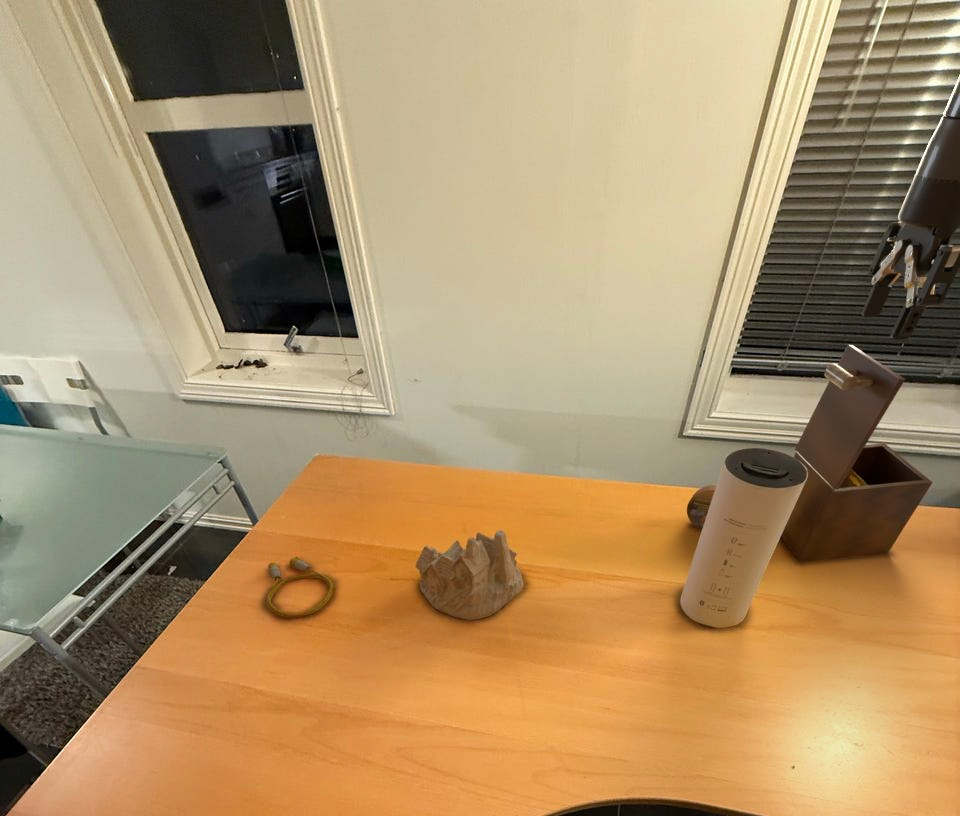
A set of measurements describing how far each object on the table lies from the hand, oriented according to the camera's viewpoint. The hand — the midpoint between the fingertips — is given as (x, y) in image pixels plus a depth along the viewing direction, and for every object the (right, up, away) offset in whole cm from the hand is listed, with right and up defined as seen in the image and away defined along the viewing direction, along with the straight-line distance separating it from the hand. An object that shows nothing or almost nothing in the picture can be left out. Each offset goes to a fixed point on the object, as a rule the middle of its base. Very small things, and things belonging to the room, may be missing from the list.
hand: (883, 327), depth 74 cm
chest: (+9, -24, +27) cm, 37 cm away
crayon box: (+11, -23, +26) cm, 36 cm away
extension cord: (-87, -34, +24) cm, 97 cm away
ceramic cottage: (-56, -33, +23) cm, 69 cm away
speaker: (-16, -37, +16) cm, 44 cm away
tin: (-8, -22, +30) cm, 38 cm away
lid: (+1, -9, +10) cm, 13 cm away
